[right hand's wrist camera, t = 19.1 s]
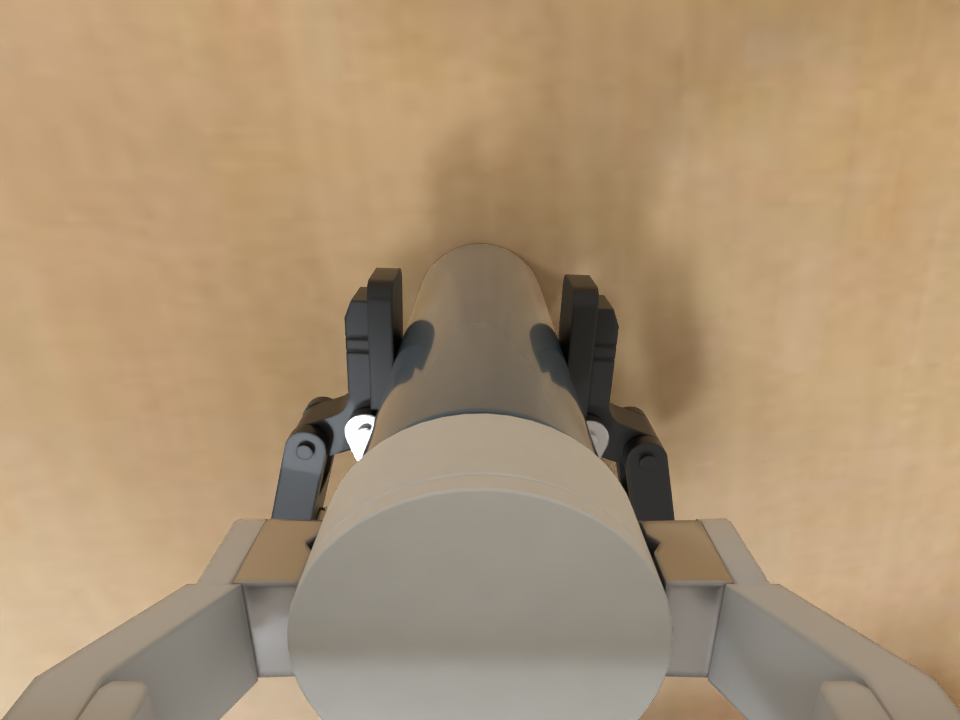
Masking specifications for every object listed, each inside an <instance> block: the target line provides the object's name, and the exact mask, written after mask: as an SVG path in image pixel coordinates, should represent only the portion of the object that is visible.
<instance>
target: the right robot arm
mask: <svg viewBox="0 0 960 720" xmlns="http://www.w3.org/2000/svg"><path fill="white" fill-rule="evenodd" d="M322 521H323V520H295V519H269V520H268V519H239V520H237V521H235V522H234V523H233V525H232V526H231V528H230V530H229V531H228V533H227V534H226V536H225V538H224V539H223V541H222V543H221V544H220V546H219V548H218V549H217V551H216V553H215V554H214V556H213V557H212V559H211V561H210V562H209V564H208V566H207V567H206V569H205V571H204V572H203V574H202V576H201V577H200V579H199V580H198V582H197V584H187V585H185V586H183V587H182V588H180V589H178V590H177V591H175V592H174V593H172V594H170V595H169V596H167V597H165V598H164V599H162V600H161V601H159V602H157V603H156V604H154V605H152V606H151V607H149V608H148V609H146V610H144V611H143V612H141V613H139V614H138V615H136V616H135V617H133V618H131V619H130V620H128V621H126V622H125V623H123V624H122V625H120V626H118V627H117V628H115V629H113V630H112V631H110V632H109V633H107V634H105V635H104V636H102V637H100V638H99V639H97V640H96V641H94V642H92V643H91V644H89V645H87V646H86V647H84V648H83V649H81V650H79V651H78V652H76V653H74V654H73V655H71V656H70V657H68V658H66V659H65V660H63V661H61V662H60V663H58V664H57V665H55V666H53V667H52V668H50V669H49V670H47V671H45V672H44V673H42V674H40V675H39V676H37V677H36V678H34V680H33V681H32V682H31V683H30V685H29V686H28V687H27V688H26V690H25V691H24V692H23V693H22V695H21V696H20V697H19V698H18V700H17V701H16V702H15V703H14V705H13V706H12V707H11V708H10V710H9V711H8V712H7V714H6V715H5V716H4V717H3V719H2V720H219V719H220V718H221V717H222V716H223V715H224V714H225V713H226V712H227V711H228V710H229V709H230V708H231V707H232V706H233V705H234V704H235V703H236V702H237V701H238V700H239V699H240V698H241V697H242V696H243V695H244V694H245V693H246V692H247V691H248V690H249V689H250V688H251V687H252V686H253V685H254V684H255V683H256V682H257V681H258V678H257V677H288V676H295V674H294V671H293V669H292V666H291V661H290V656H289V650H288V643H287V624H288V618H289V612H290V606H291V603H292V600H293V597H294V594H295V592H296V589H297V586H298V583H299V581H300V578H301V576H302V573H303V571H304V568H305V565H306V563H307V560H308V557H309V555H310V552H311V550H312V547H313V545H314V542H315V539H316V537H317V534H318V532H319V529H320V527H321V524H322ZM638 523H639V526H640V529H641V531H642V534H643V536H644V539H645V542H646V544H647V547H648V549H649V552H650V555H651V557H652V560H653V562H654V565H655V568H656V570H657V573H658V575H659V578H660V581H661V583H662V586H663V588H664V591H665V593H666V596H667V599H668V603H669V607H670V612H671V616H672V627H673V643H672V651H671V659H670V662H669V665H668V669H667V672H666V676H677V677H708V681H709V682H710V683H711V684H712V685H713V686H714V687H715V688H716V689H717V690H718V691H719V692H720V693H721V694H722V695H723V696H724V697H725V698H726V699H727V700H728V701H729V702H730V703H731V704H732V705H733V706H734V707H735V708H736V709H737V710H738V711H739V712H740V713H741V714H742V715H743V716H744V717H745V718H746V719H747V720H960V710H959V709H958V708H957V706H956V705H955V704H954V703H953V701H952V700H951V699H950V698H949V696H948V695H947V694H946V693H945V691H944V690H943V689H942V688H941V686H940V685H939V684H938V683H937V681H936V680H935V679H934V678H932V677H930V676H929V675H927V674H925V673H924V672H922V671H921V670H919V669H917V668H916V667H914V666H912V665H911V664H909V663H907V662H906V661H904V660H903V659H901V658H899V657H898V656H896V655H894V654H893V653H891V652H890V651H888V650H886V649H885V648H883V647H881V646H880V645H878V644H876V643H875V642H873V641H872V640H870V639H868V638H867V637H865V636H863V635H862V634H860V633H858V632H857V631H855V630H854V629H852V628H850V627H849V626H847V625H845V624H844V623H842V622H840V621H839V620H837V619H836V618H834V617H832V616H831V615H829V614H827V613H826V612H824V611H822V610H821V609H819V608H818V607H816V606H814V605H813V604H811V603H809V602H808V601H806V600H804V599H803V598H801V597H800V596H798V595H796V594H795V593H793V592H791V591H790V590H788V589H786V588H785V587H783V586H782V585H780V584H770V583H769V581H768V580H767V578H766V577H765V575H764V573H763V572H762V570H761V569H760V567H759V566H758V564H757V562H756V561H755V559H754V558H753V556H752V554H751V553H750V551H749V550H748V548H747V546H746V545H745V543H744V542H743V540H742V539H741V537H740V535H739V534H738V532H737V531H736V529H735V527H734V526H733V524H732V523H731V521H729V520H727V519H726V518H725V519H696V520H672V521H638Z"/></svg>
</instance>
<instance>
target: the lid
mask: <svg viewBox="0 0 960 720" xmlns="http://www.w3.org/2000/svg"><path fill="white" fill-rule="evenodd" d="M287 643H288V650H289V656H290V661H291V666H292V669H293V671H294V674H295V677H296V680H297V682H298V685H299V686H300V688H301V690H302V692H303V694H304V695H305V697H306V699H307V701H308V702H309V703H310V705H311V706H312V707H313V709H314V710H315V711H316V713H317V714H318V715H319V717H320V718H321V719H322V720H638V719H639V718H640V716H641V715H642V714H643V713H644V712H645V711H646V710H647V708H648V707H649V705H650V704H651V702H652V701H653V699H654V698H655V696H656V695H657V693H658V691H659V689H660V687H661V684H662V682H663V680H664V678H665V676H666V672H667V669H668V665H669V662H670V659H671V651H672V643H673V627H672V616H671V612H670V607H669V603H668V599H667V596H666V593H665V591H664V588H663V586H662V583H661V581H660V578H659V575H658V573H657V570H656V568H655V565H654V562H653V560H652V557H651V555H650V552H649V549H648V547H647V544H646V542H645V539H644V536H643V534H642V531H641V529H640V526H639V523H638V521H637V518H636V516H635V513H634V511H633V508H632V506H631V503H630V501H629V498H628V496H627V494H626V492H625V490H624V489H623V487H622V485H621V484H620V482H619V480H618V479H617V477H616V476H615V475H614V474H613V472H612V471H611V470H610V469H609V468H608V467H607V465H606V464H605V463H604V462H603V461H602V460H601V459H600V458H599V457H597V456H596V455H595V454H594V453H593V452H592V451H591V450H590V449H588V448H587V447H585V446H584V445H582V444H581V443H579V442H578V441H576V440H575V439H573V438H572V437H570V436H568V435H566V434H564V433H562V432H560V431H558V430H556V429H554V428H551V427H549V426H546V425H543V424H540V423H537V422H534V421H531V420H527V419H522V418H518V417H513V416H508V415H497V414H461V415H454V416H447V417H441V418H437V419H434V420H430V421H426V422H422V423H419V424H417V425H414V426H412V427H409V428H407V429H404V430H402V431H400V432H398V433H396V434H394V435H393V436H391V437H389V438H387V439H385V440H384V441H382V442H380V443H379V444H378V445H376V446H375V447H374V448H372V449H371V450H370V451H368V452H367V453H366V454H365V455H364V456H363V457H362V458H361V459H360V460H359V461H358V462H357V463H356V464H355V465H353V466H352V467H351V469H350V470H349V471H348V473H347V474H346V475H345V477H344V478H343V479H342V481H341V482H340V484H339V485H338V487H337V489H336V491H335V493H334V495H333V496H332V498H331V501H330V503H329V506H328V508H327V511H326V514H325V516H324V519H323V521H322V524H321V527H320V529H319V532H318V534H317V537H316V539H315V542H314V545H313V547H312V550H311V552H310V555H309V557H308V560H307V563H306V565H305V568H304V571H303V573H302V576H301V578H300V581H299V583H298V586H297V589H296V592H295V594H294V597H293V600H292V603H291V606H290V612H289V618H288V624H287Z"/></svg>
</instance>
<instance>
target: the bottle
mask: <svg viewBox="0 0 960 720" xmlns="http://www.w3.org/2000/svg"><path fill="white" fill-rule="evenodd" d="M461 414H497V415H508V416H513V417H518V418H522V419H527V420H531V421H534V422H537V423H540V424H543V425H546V426H549V427H551V428H554V429H556V430H558V431H560V432H562V433H564V434H566V435H568V436H570V437H572V438H573V439H575V440H576V441H578V442H579V443H581V444H582V445H584V446H585V447H587V448H588V449H590V450H591V451H592V452H593V453H594V454H595V455H596V456H597V457H599V456H598V453H597V450H596V447H595V445H594V442H593V439H592V436H591V433H590V430H589V427H588V424H587V421H586V418H585V416H584V413H583V410H582V407H581V404H580V401H579V398H578V395H577V392H576V390H575V387H574V384H573V381H572V378H571V375H570V372H569V369H568V366H567V363H566V361H565V358H564V355H563V352H562V349H561V346H560V343H559V340H558V337H557V335H556V332H555V329H554V326H553V323H552V320H551V317H550V314H549V311H548V308H547V306H546V303H545V300H544V297H543V294H542V291H541V288H540V285H539V283H538V280H537V278H536V276H535V275H534V273H533V271H532V270H531V268H530V267H529V266H528V265H527V264H526V263H525V262H524V261H523V260H522V259H521V258H520V257H518V256H517V255H516V254H514V253H512V252H511V251H509V250H507V249H504V248H502V247H499V246H495V245H490V244H471V245H465V246H462V247H458V248H456V249H454V250H451V251H450V252H448V253H446V254H445V255H443V256H442V257H441V258H439V259H438V260H437V261H436V262H435V263H434V264H433V265H432V266H431V268H430V269H429V270H428V272H427V273H426V275H425V277H424V279H423V281H422V284H421V287H420V289H419V292H418V295H417V298H416V301H415V304H414V307H413V310H412V313H411V315H410V318H409V321H408V324H407V327H406V330H405V333H404V336H403V339H402V341H401V344H400V347H399V350H398V353H397V356H396V359H395V362H394V365H393V367H392V370H391V373H390V376H389V379H388V382H387V385H386V388H385V391H384V393H383V396H382V399H381V402H380V405H379V408H378V411H377V414H376V417H375V419H374V422H373V425H372V428H371V431H370V434H369V437H368V440H367V443H366V445H365V448H364V451H363V454H362V457H363V456H364V455H365V454H366V453H367V452H368V451H370V450H371V449H372V448H374V447H375V446H376V445H378V444H379V443H380V442H382V441H384V440H385V439H387V438H389V437H391V436H393V435H394V434H396V433H398V432H400V431H402V430H404V429H407V428H409V427H412V426H414V425H417V424H419V423H422V422H426V421H430V420H434V419H437V418H441V417H447V416H454V415H461ZM362 457H361V458H362Z"/></svg>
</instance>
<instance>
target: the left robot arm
mask: <svg viewBox="0 0 960 720" xmlns="http://www.w3.org/2000/svg"><path fill="white" fill-rule="evenodd" d="M618 328H619V326H618V323H617V320H616V316H615V313H614V309H613V308H612V306H611V305H610V304H609V302H608V301H607V299H606V298H605V296H604V295H599V293H598V288H597V286H596V284H595V283H594V281H593V280H592V279H591V277H590V276H589V275H565V277H564V281H563V290H562V302H561V314H560V326H559V337H558V340H559V343H560V346H561V349H562V352H563V355H564V358H565V361H566V363H567V366H568V369H569V372H570V375H571V378H572V381H573V384H574V387H575V390H576V392H577V395H578V398H579V401H580V404H581V407H582V410H583V413H584V416H585V418H586V421H587V424H588V427H589V430H590V433H591V436H592V439H593V442H594V445H595V447H596V450H597V453H598V456H599V458H601V457H604V458H606V459H609V460H612V461H615V462H616V466H617V473H618V479H619V482H620V484H621V485H622V487H623V489H624V490H625V492H626V494H627V496H628V498H629V501H630V503H631V506H632V508H633V511H634V513H635V516H636V518H637V521H672V520H674V511H673V503H672V494H671V486H670V477H669V468H668V460H667V454H666V452H665V450H664V448H663V446H662V445H661V443H660V441H659V439H658V437H657V435H656V434H655V432H654V430H653V428H652V426H651V424H650V423H649V421H648V419H647V417H646V415H645V414H644V412H643V411H642V410H640V409H639V408H636V407H624V408H621V407H619V406H616V405H613V404H611V403H610V402H609V401H610V393H611V385H612V377H613V369H614V358H615V352H616V344H617V336H618ZM345 334H346V350H347V372H348V391H349V393H348V394H346V395H344V396H342V397H339V398H335V399H331V398H329V397H318V398H315V399H313V400H312V401H311V402H310V403H309V404H308V406H307V407H306V409H305V411H304V413H303V417H302V419H301V421H300V422H299V424H298V426H297V427H296V429H294V430H293V432H292V433H291V435H290V436H289V438H288V440H287V441H286V444H285V448H284V454H283V459H282V464H281V470H280V475H279V480H278V486H277V491H276V496H275V502H274V507H273V512H272V518H271V519H295V520H323V519H324V516H325V514H326V511H327V508H328V507H323V504H324V500H325V495H326V491H327V486H328V482H329V477H330V473H331V468H332V464H333V459H334V455H335V454H338V453H341V452H345V451H348V450H352V452H353V454H354V456H355V459H356V461H357V462H358V461H359V460H360V459H361V457H362V454H363V451H364V448H365V445H366V443H367V440H368V437H369V434H370V431H371V428H372V425H373V422H374V419H375V417H376V414H377V411H378V408H379V405H380V402H381V399H382V396H383V393H384V391H385V388H386V385H387V382H388V379H389V376H390V373H391V370H392V367H393V365H394V362H395V359H396V356H397V353H398V350H399V347H400V344H401V341H402V339H403V311H402V273H401V269H396V268H376V269H375V271H374V272H373V274H372V275H371V277H370V278H369V281H368V285H367V287H360V288H359V290H358V291H357V293H356V294H355V296H354V297H353V298H352V300H351V302H350V305H349V307H348V310H347V313H346V315H345Z"/></svg>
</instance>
